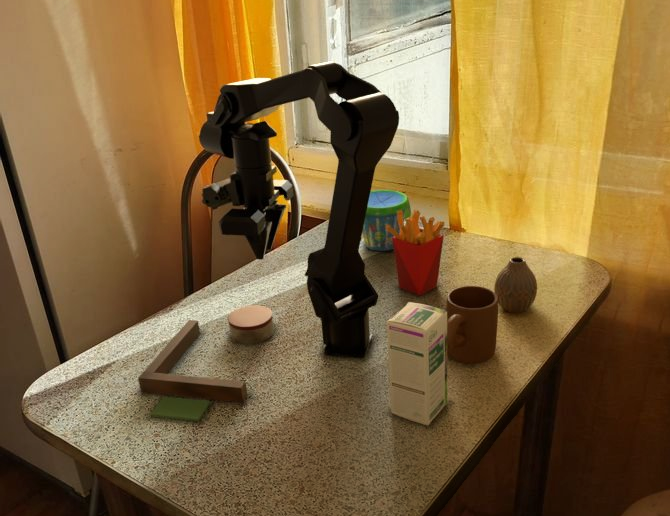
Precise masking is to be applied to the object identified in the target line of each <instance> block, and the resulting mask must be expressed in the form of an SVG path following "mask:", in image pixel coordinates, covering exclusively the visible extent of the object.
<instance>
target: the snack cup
mask: <svg viewBox="0 0 670 516" xmlns="http://www.w3.org/2000/svg"><path fill="white" fill-rule="evenodd" d="M399 210H402V212H403V222H404V223H405V220H406V219H407V218H411V215H412V210H411V203H410V199H409V197H408V196H407V195H406V194H405V193H403V192H401V191H397V190H393V189H376V190H371V191H370V196H369V201H368V206H367V211H366V216H365V221H364V226H363V231H362V238H361V241H362V239H363V242H364V244H365V245H364V246H366V248H368V249H369V250H372V251H381V252H386V251H391V250H394V248H393V241H392V238H393V237H395V236H394V235H393V234H392V233H390V232H389V231H388V230H387V229H386V228H385V227H386V225H387V224H388V225H390V226H391V228H392V229H393V230H395V231H396V232H397V233H398V234H400V227H399V224H398V219H397V211H399Z"/></svg>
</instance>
